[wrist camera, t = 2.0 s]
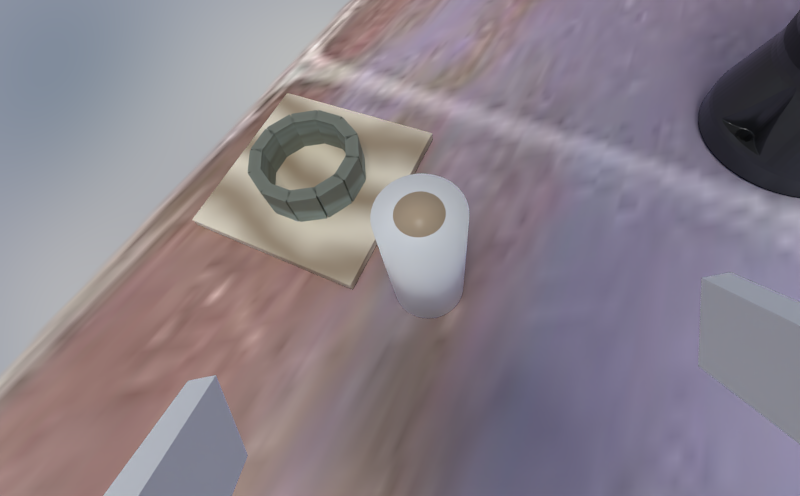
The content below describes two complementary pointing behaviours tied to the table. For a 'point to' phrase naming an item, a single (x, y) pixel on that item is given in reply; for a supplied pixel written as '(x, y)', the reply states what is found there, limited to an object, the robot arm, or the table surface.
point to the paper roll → (423, 241)
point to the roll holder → (313, 186)
